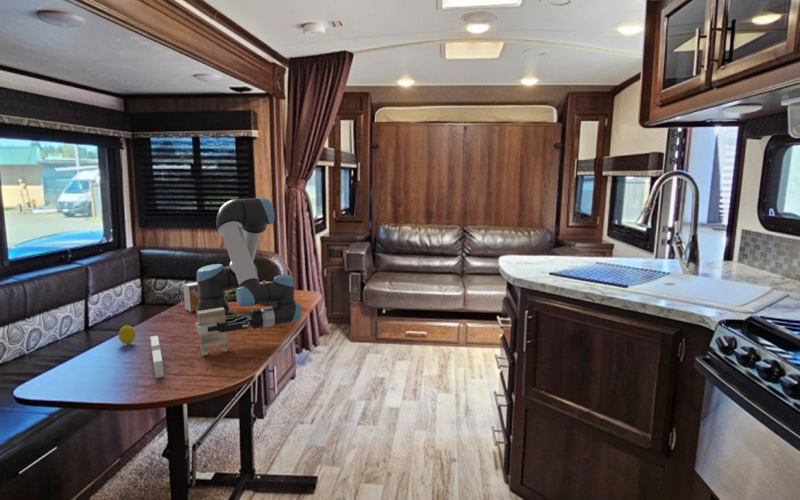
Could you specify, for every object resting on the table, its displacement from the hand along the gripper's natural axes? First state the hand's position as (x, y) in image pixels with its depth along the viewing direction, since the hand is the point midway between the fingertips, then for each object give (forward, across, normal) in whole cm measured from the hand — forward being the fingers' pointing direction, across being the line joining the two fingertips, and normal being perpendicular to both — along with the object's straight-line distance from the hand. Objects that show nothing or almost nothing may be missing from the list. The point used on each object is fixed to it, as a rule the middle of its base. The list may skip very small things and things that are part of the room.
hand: (196, 328), depth 166 cm
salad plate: (-26, +78, -11) cm, 83 cm away
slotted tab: (-5, 0, -10) cm, 11 cm away
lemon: (+23, +26, -10) cm, 36 cm away
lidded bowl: (-39, +60, -10) cm, 72 cm away
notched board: (+14, 0, -10) cm, 17 cm away
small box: (-6, +64, -10) cm, 65 cm away
